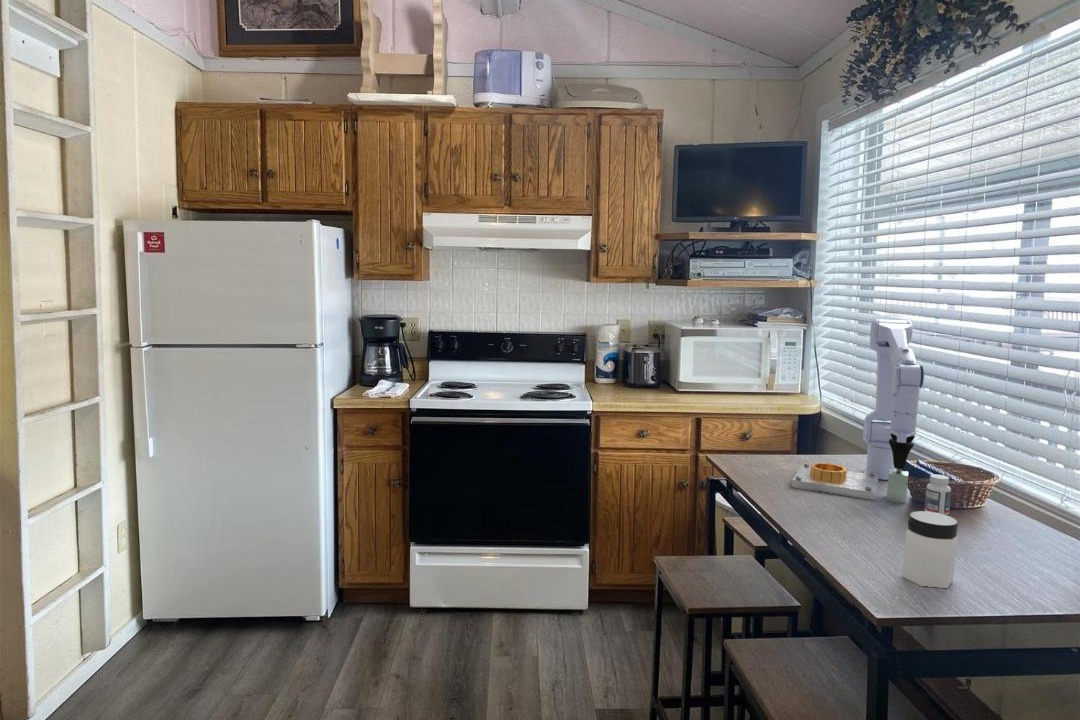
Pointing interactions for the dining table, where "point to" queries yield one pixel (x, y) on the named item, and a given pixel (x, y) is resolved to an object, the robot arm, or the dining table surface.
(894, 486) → the mint green square pillar
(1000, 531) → the dining table surface
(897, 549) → the dining table surface
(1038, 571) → the dining table surface
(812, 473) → the bolted plate with ring
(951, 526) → the jar
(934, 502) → the pill bottle
